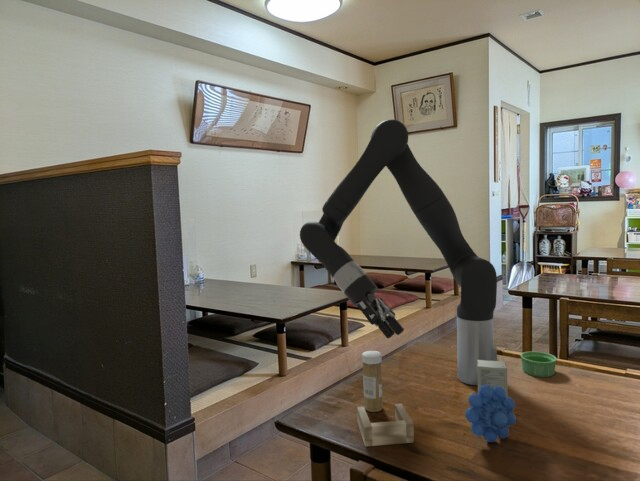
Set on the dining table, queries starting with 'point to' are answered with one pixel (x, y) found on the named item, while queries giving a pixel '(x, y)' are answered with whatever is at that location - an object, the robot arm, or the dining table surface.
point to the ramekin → (538, 363)
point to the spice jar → (372, 381)
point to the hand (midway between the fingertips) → (396, 334)
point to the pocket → (386, 428)
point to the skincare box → (492, 374)
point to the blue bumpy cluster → (490, 413)
